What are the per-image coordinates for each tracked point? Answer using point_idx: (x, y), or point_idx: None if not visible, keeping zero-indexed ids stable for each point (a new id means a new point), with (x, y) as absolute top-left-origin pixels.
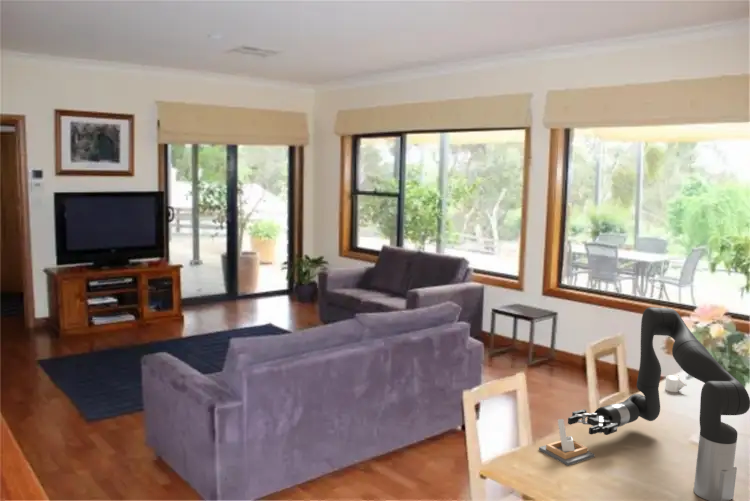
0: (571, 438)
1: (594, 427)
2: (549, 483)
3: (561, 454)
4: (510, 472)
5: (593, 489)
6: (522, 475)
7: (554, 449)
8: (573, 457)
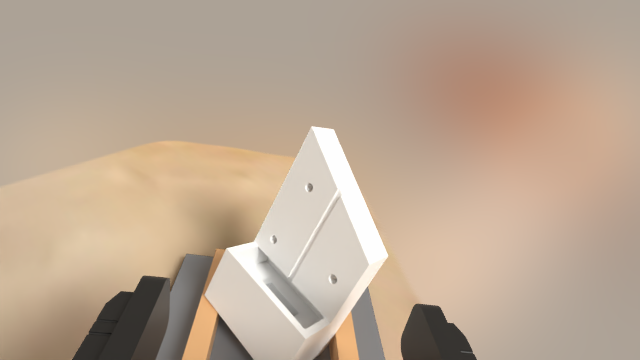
0: (265, 286)
1: (122, 314)
2: (169, 170)
3: None
4: (279, 163)
5: (9, 204)
6: (250, 166)
7: None
8: (196, 305)
